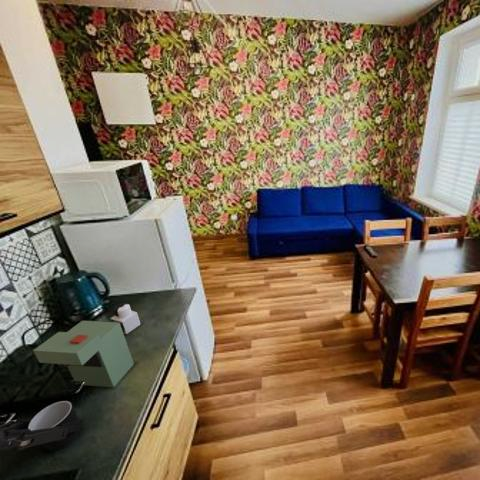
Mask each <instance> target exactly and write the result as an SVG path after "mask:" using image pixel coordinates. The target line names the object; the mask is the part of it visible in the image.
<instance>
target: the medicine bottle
mask: <svg viewBox="0 0 480 480" xmlns="http://www.w3.org/2000/svg"><path fill="white" fill-rule="evenodd" d="M112 312H113V316H112V317H110V320H111V321H110V322H116V323H120V326H121V329H122V331H123V334H124V335H128V334H129V333H131V332H132V331H133V330H135V329H137V328H138V327H139V326H141V320H140V318H139V314H138V312H137V311H134V310H132V308H131V305H130V303H128V302H123V303H119V304H117V305H115V306H114V307H113V308H112Z"/></svg>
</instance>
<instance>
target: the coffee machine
mask: <svg viewBox="0 0 480 480" xmlns="http://www.w3.org/2000/svg"><path fill="white" fill-rule="evenodd" d="M32 351H33V353H34V355H35V357H36V359H37V361H38V362H39V363H40V364H55V365H63V367H65V368H67V369H68V370H69V372H70V375H71V377H72V378H73V380H74V382H75V381H84V382H85V383H84V384H83V385H82V386H89V387H90V386H91V387H105V388H115V387H116V386H117V384H118V383H120V381H121V380H122V379H123V377H124V376H125V375H126V374H127V373H128V372H129V370H131V368H133V366H134V364H135V363H134V360H133V356H132V354H131V351H130V349H129V346H128V343H127V339H126V337H125V334H123V331H122V329H121V326H120V323H116V322H112V321H95V320H81V321H80V322H79V323H77V324H76V325H74V326H73V327H72V328H70V329H69V330H68V331H67V332H65V331H58V332H56V333H55V334H54V335H52V336H51V337H49V338H48V339H47V340H46V341H44V342H43V343H41V344H40V345H38V346H37V347H35V348H34V349H33V350H32ZM75 385H76V386H77V383H75Z"/></svg>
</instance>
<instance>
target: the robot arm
mask: <svg viewBox="0 0 480 480" xmlns="http://www.w3.org/2000/svg"><path fill="white" fill-rule="evenodd" d="M31 420H32V419H28V420H23V418H17V419H15V422H14V423H13V422H12V421H8V422H5V423H2V424H0V452H6V451H9V450H11V449H15V448H16V450H17V451H22V450H25V449H28V448H32V446H33V447H37V446H36V445H38V446H41V445H40V444H44V443H48V442H53V441H60V440H61V439H65V438H66V436H67V434H69V433H72V432H76V431H79V432H80V431H81V429H82V425H83V423H84V418H78V420H76V421H72V422H68V423H65V424H61V425H60V426H58V427H51V428H44V429H38V430H30V429H28V426H29V423H30V422H31ZM23 433H25V434H24V436H23V437H22V434H23ZM21 437H22V439H21Z"/></svg>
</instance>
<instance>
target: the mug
mask: <svg viewBox="0 0 480 480" xmlns="http://www.w3.org/2000/svg"><path fill="white" fill-rule="evenodd" d="M30 420H31V422H30V423H29V426H28V429H30V430H38V429H44V428H51V427H58V426H60V425H61V424H65V423H68V422H72V421H76V420H79V417H78V415H77V412H76V410H75V408H74V406H73V404H72V402H70V401H68V400H62V401H57V402H54V403H52V404H50V405H48V406H46V407H44V408H43V409H42V410H40V411H39V412H38V413H36V414H35V415H34V416H33V418H31V419H30ZM79 433H80V430H79V431H76V432H72V433H69V434H67V436H66V438H65V439H61V440H60V441H53V442H48V443H44V444H40V445H36V446H35V447H39V446H42V447H43V448H45V449H46V450H49V451H53V452H54V451H60V450H62V449H65V448H67V447H68V446H69V445H70V444H72V443H73V442H74V441H75V439H77V437H78V436H79ZM24 434H25V433H22V437H23V436H24ZM22 437H21V439H22ZM32 447H34V446H32ZM32 447H31V448H32Z"/></svg>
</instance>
